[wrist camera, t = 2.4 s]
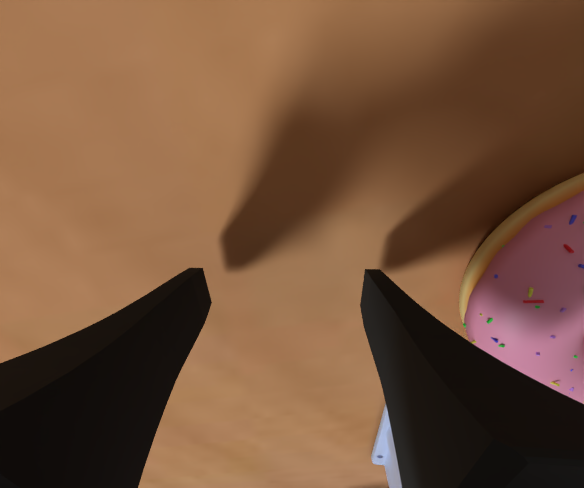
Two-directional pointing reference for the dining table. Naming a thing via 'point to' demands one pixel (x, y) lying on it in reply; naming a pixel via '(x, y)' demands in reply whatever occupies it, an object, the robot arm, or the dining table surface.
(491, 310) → the doughnut
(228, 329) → the dining table surface
